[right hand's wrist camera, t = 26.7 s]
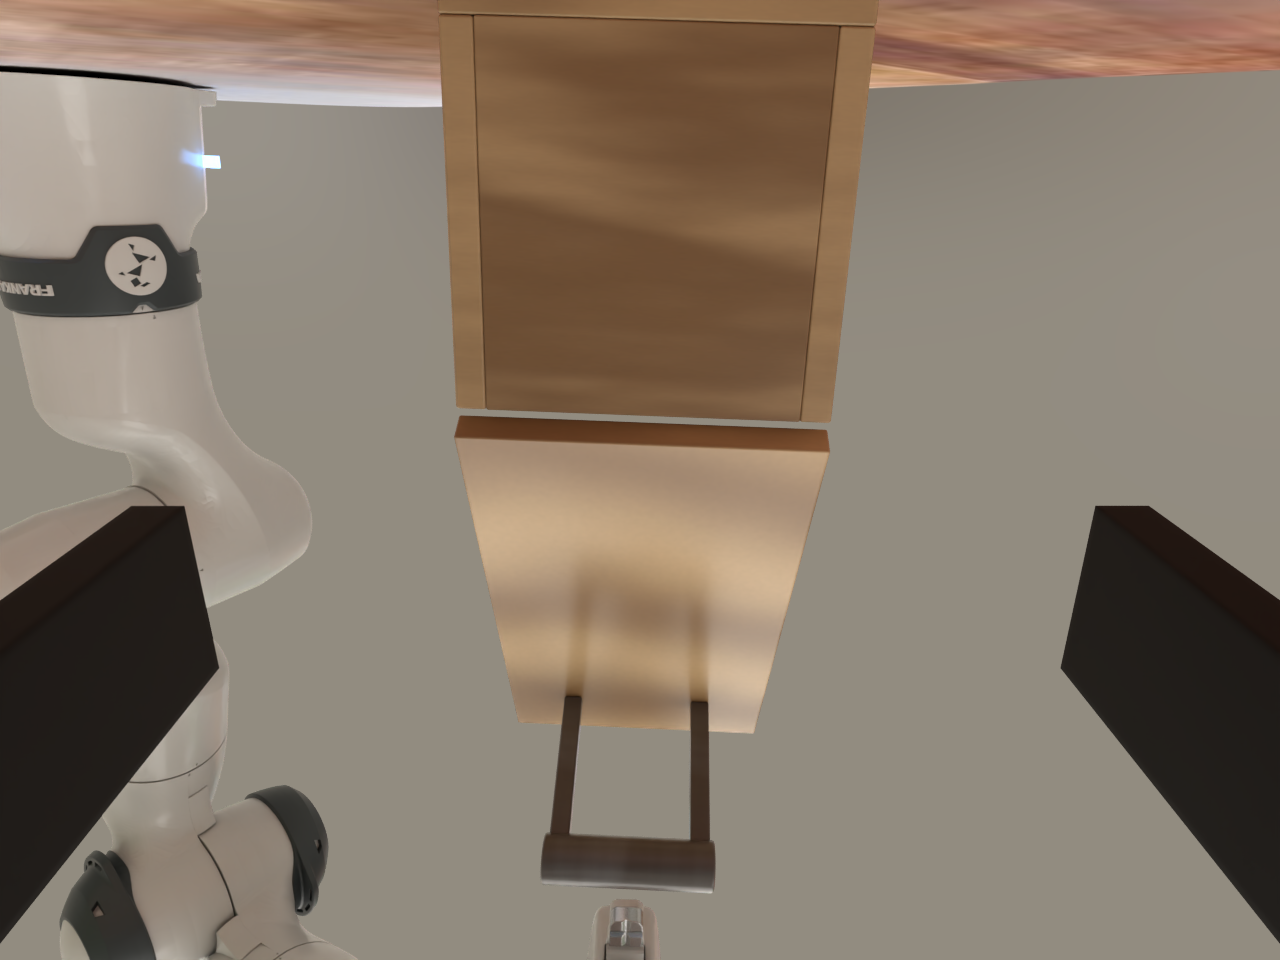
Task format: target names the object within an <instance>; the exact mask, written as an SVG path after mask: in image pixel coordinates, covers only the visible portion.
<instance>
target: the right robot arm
mask: <svg viewBox="0 0 1280 960" xmlns="http://www.w3.org/2000/svg"><path fill="white" fill-rule="evenodd" d="M218 669H219V664H218V659H217V655H216V650H215V645H214V641H213V636H212V632H211V627H210V622H209V618H208V613H207V608H206V604H205V599H204V594H203V590H202V585H201V580H200V576H199V571H198V566H197V562H196V557H195V552H194V548H193V543H192V539H191V534H190V529H189V525H188V520H187V515H186V511H185V506H130V507H129V508H128V509H126V510H125V511H124V512H122V513H121V514H119V515H118V516H117V517H115V518H114V519H112V520H111V521H110V522H108V523H107V524H105V525H104V526H103V527H101V528H100V529H99V530H97V531H96V532H94V533H93V534H92V535H90V536H89V537H87V538H86V539H85V540H83V541H82V542H80V543H79V544H78V545H76V546H75V547H74V548H72V549H71V550H69V551H68V552H67V553H65V554H64V555H62V556H61V557H60V558H58V559H57V560H55V561H54V562H53V563H51V564H50V565H49V566H47V567H46V568H44V569H43V570H42V571H40V572H39V573H37V574H36V575H35V576H33V577H32V578H30V579H29V580H28V581H26V582H25V583H24V584H22V585H21V586H19V587H18V588H17V589H15V590H14V591H12V592H11V593H10V594H8V595H7V596H5V597H4V598H3V599H1V600H0V943H1V942H2V940H3V939H4V938H5V937H6V935H7V934H8V933H9V932H10V930H11V929H12V928H13V927H14V925H15V924H16V923H17V922H18V920H19V919H20V918H21V917H22V915H23V914H24V913H25V912H26V910H27V909H28V908H29V907H30V905H31V904H32V903H33V902H34V900H35V899H36V898H37V897H38V895H39V894H40V893H41V892H42V890H43V889H44V888H45V886H46V885H47V884H48V883H49V881H50V880H51V879H52V878H53V876H54V875H55V874H56V873H57V871H58V870H59V869H60V868H61V866H62V865H63V864H64V863H65V861H66V860H67V859H68V858H69V856H70V855H71V854H72V853H73V851H74V850H75V849H76V848H77V846H78V845H79V844H80V842H81V841H82V840H83V839H84V837H85V836H86V835H87V834H88V832H89V831H90V830H91V829H92V827H93V826H94V825H95V824H96V822H97V821H98V820H99V819H100V817H101V816H102V815H103V814H104V812H105V811H106V810H107V809H108V807H109V806H110V805H111V804H112V802H113V801H114V800H115V799H116V797H117V796H118V795H119V794H120V792H121V791H122V790H123V789H124V787H125V786H126V785H127V783H128V782H129V781H130V780H131V778H132V777H133V776H134V775H135V773H136V772H137V771H138V770H139V768H140V767H141V766H142V765H143V763H144V762H145V761H146V760H147V758H148V757H149V756H150V755H151V753H152V752H153V751H154V750H155V748H156V747H157V746H158V745H159V743H160V742H161V741H162V740H163V738H164V737H165V736H166V734H167V733H168V732H169V731H170V729H171V728H172V727H173V726H174V724H175V723H176V722H177V721H178V719H179V718H180V717H181V716H182V714H183V713H184V712H185V711H186V709H187V708H188V707H189V706H190V704H191V703H192V702H193V701H194V699H195V698H196V697H197V696H198V694H199V693H200V692H201V691H202V689H203V688H204V687H205V685H206V684H207V683H208V682H209V680H210V679H211V678H212V677H213V675H214V674H215V673H216V672H217V670H218ZM1061 669H1062V670H1063V672H1064V673H1065V674H1066V675H1067V677H1068V678H1069V679H1070V680H1071V682H1072V683H1073V684H1074V685H1075V687H1076V688H1077V689H1078V690H1079V692H1080V693H1081V694H1082V696H1083V697H1084V698H1085V699H1086V701H1087V702H1088V703H1089V704H1090V706H1091V707H1092V708H1093V709H1094V711H1095V712H1096V713H1097V714H1098V716H1099V717H1100V718H1101V719H1102V721H1103V722H1104V723H1105V724H1106V726H1107V727H1108V728H1109V729H1110V731H1111V732H1112V733H1113V734H1114V736H1115V737H1116V738H1117V739H1118V741H1119V742H1120V743H1121V745H1122V746H1123V747H1124V748H1125V749H1126V751H1127V752H1128V753H1129V754H1130V756H1131V757H1132V758H1133V760H1134V761H1135V762H1136V763H1137V765H1138V766H1139V767H1140V768H1141V770H1142V771H1143V772H1144V773H1145V775H1146V776H1147V777H1148V778H1149V780H1150V781H1151V782H1152V783H1153V785H1154V786H1155V787H1156V789H1157V790H1158V791H1159V792H1160V794H1161V795H1162V796H1163V797H1164V799H1165V800H1166V801H1167V802H1168V804H1169V805H1170V806H1171V807H1172V809H1173V810H1174V811H1175V812H1176V814H1177V815H1178V816H1179V817H1180V819H1181V820H1182V821H1183V822H1184V824H1185V825H1186V826H1187V827H1188V829H1189V830H1190V831H1191V832H1192V834H1193V835H1194V836H1195V837H1196V839H1197V840H1198V841H1199V842H1200V844H1201V845H1202V846H1203V847H1204V849H1205V850H1206V851H1207V852H1208V854H1209V855H1210V856H1211V858H1212V859H1213V860H1214V861H1215V863H1216V864H1217V865H1218V866H1219V868H1220V869H1221V870H1222V871H1223V873H1224V874H1225V875H1226V876H1227V878H1228V879H1229V880H1230V881H1231V883H1232V884H1233V885H1234V886H1235V888H1236V889H1237V890H1238V892H1239V893H1240V894H1241V895H1242V897H1243V898H1244V899H1245V900H1246V902H1247V903H1248V904H1249V905H1250V907H1251V908H1252V909H1253V910H1254V912H1255V913H1256V914H1257V915H1258V917H1259V918H1260V919H1261V920H1262V922H1263V923H1264V924H1265V925H1266V927H1267V928H1268V929H1269V930H1270V932H1271V933H1272V934H1273V935H1274V937H1275V938H1276V939H1277V940H1278V942H1279V943H1280V600H1279V599H1277V598H1276V597H1275V596H1273V595H1272V594H1270V593H1269V592H1268V591H1266V590H1265V589H1263V588H1262V587H1261V586H1259V585H1258V584H1256V583H1255V582H1254V581H1252V580H1251V579H1250V578H1248V577H1247V576H1245V575H1244V574H1243V573H1241V572H1240V571H1238V570H1237V569H1236V568H1234V567H1233V566H1231V565H1230V564H1229V563H1227V562H1226V561H1225V560H1223V559H1222V558H1220V557H1219V556H1218V555H1216V554H1215V553H1213V552H1212V551H1211V550H1209V549H1208V548H1206V547H1205V546H1204V545H1202V544H1201V543H1199V542H1198V541H1197V540H1195V539H1194V538H1193V537H1191V536H1190V535H1188V534H1187V533H1186V532H1184V531H1183V530H1181V529H1180V528H1179V527H1177V526H1176V525H1175V524H1173V523H1172V522H1170V521H1169V520H1168V519H1166V518H1165V517H1163V516H1162V515H1161V514H1159V513H1158V512H1156V511H1155V510H1154V509H1152V508H1151V507H1150V506H1095V511H1094V515H1093V520H1092V525H1091V529H1090V534H1089V539H1088V543H1087V548H1086V553H1085V557H1084V562H1083V566H1082V571H1081V576H1080V580H1079V585H1078V590H1077V594H1076V599H1075V604H1074V608H1073V613H1072V618H1071V622H1070V627H1069V631H1068V636H1067V641H1066V645H1065V650H1064V655H1063V659H1062V664H1061Z"/></svg>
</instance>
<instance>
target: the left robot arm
mask: <svg viewBox="0 0 1280 960" xmlns="http://www.w3.org/2000/svg"><path fill="white" fill-rule="evenodd" d="M201 106H203V107H215V106H216V92H213V91H205V90H197V89H193V88H189V87H183V86H175V85H167V84H157V83H147V82H136V81H125V80H113V79H101V78H88V77H75V76H61V75H46V74H30V73H13V72H0V295H1V298H2V301H3V304H4V306H5V307H6V308H8V309H9V310H11V311H12V312H13V316H14V321H15V325H16V329H17V334H18V338H19V343H20V347H21V352H22V356H23V361H24V365H25V370H26V374H27V378H28V383H29V387H30V391H31V396H32V401H33V405H34V407H35V409H36V410H37V412H38V413H39V415H40V416H41V418H42V419H43V420H44V421H45V422H46V423H47V425H49V426H50V427H51V428H52V429H53V430H54V431H56V432H57V433H59V434H60V435H62V436H64V437H66V438H68V439H70V440H73V441H76V442H79V443H82V444H86V445H89V446H93V447H97V448H102V449H106V450H112V451H116V452H122V453H125V455H126V456H127V458H128V460H129V463H130V466H131V469H132V475H133V482H132V485H130V486H128V487H126V488H124V489H120V490H117V491H114V492H110V493H107V494H103V495H100V496H96V497H93V498H89V499H86V500H82V501H79V502H76V503H72V504H69V505H65V506H62V507H58V508H55V509H51V510H48V511H44V512H41V513H38V514H35V515H33V516H31V517H28V518H26V519H24V520H22V521H20V522H18V523H16V524H14V525H12V526H10V527H7V528H5V529H3V530H1V531H0V600H1V599H3V598H4V597H5V596H7V595H8V594H10V593H11V592H12V591H14V590H15V589H17V588H18V587H19V586H21V585H22V584H24V583H25V582H26V581H28V580H29V579H30V578H32V577H33V576H35V575H36V574H37V573H39V572H40V571H42V570H43V569H44V568H46V567H47V566H49V565H50V564H51V563H53V562H54V561H55V560H57V559H58V558H60V557H61V556H62V555H64V554H65V553H67V552H68V551H69V550H71V549H72V548H74V547H75V546H76V545H78V544H79V543H80V542H82V541H83V540H85V539H86V538H87V537H89V536H90V535H92V534H93V533H94V532H96V531H97V530H99V529H100V528H101V527H103V526H104V525H105V524H107V523H108V522H110V521H111V520H112V519H114V518H115V517H117V516H118V515H119V514H121V513H122V512H124V511H125V510H126V509H128V508H129V507H130V506H185V511H186V515H187V520H188V525H189V529H190V534H191V539H192V543H193V548H194V552H195V557H196V562H197V566H198V571H199V576H200V580H201V585H202V590H203V594H204V599H205V604H206V608H208V607H210V606H212V605H215V604H217V603H219V602H222V601H224V600H226V599H229V598H231V597H233V596H236V595H238V594H240V593H243V592H245V591H247V590H250V589H252V588H254V587H257V586H259V585H261V584H262V583H264V582H265V581H266V580H268V579H270V578H271V577H272V576H274V575H275V574H277V573H278V572H280V571H281V570H283V569H284V568H285V567H287V566H288V565H289V564H291V563H292V562H293V561H295V560H296V559H298V558H299V557H300V556H301V555H302V554H303V553H304V552H305V551H306V549H307V547H308V544H309V541H310V537H311V531H312V515H311V509H310V505H309V502H308V499H307V497H306V494H305V492H304V491H303V489H302V487H301V486H300V484H299V483H298V482H297V480H296V479H295V478H294V477H293V476H292V475H291V474H290V473H288V472H287V471H286V470H285V469H284V468H282V467H281V466H279V465H278V464H276V463H274V462H272V461H270V460H268V459H265V458H263V457H261V456H260V455H258V454H256V453H255V452H253V451H252V450H251V449H249V448H248V447H247V446H246V445H245V444H244V443H243V442H242V441H241V440H240V439H239V438H238V436H237V435H236V434H235V433H234V431H233V430H232V428H231V427H230V426H229V424H228V422H227V421H226V419H225V417H224V415H223V413H222V411H221V409H220V407H219V405H218V402H217V399H216V396H215V393H214V390H213V386H212V382H211V378H210V373H209V369H208V364H207V359H206V354H205V349H204V344H203V338H202V333H201V327H200V321H199V315H198V308H197V301H198V300H199V299H200V298H201V297H202V291H201V281H202V276H201V270H199V266H198V258H197V252H196V250H194V249H193V248H192V247H190V240H191V237H192V233H193V230H194V228H195V226H196V224H197V223H198V221H199V220H200V219H201V218H202V217H203V215H204V214H205V213H206V211H207V190H206V173H205V167H206V168H221V166H220V159H219V156H204V141H203V126H202V111H201ZM213 641H214V645H215V650H216V655H217V659H218V664H219V669H218V670H217V672H216V673H215V674H214V675H213V677H212V678H211V679H210V680H209V682H208V683H207V684H206V685H205V687H204V688H203V689H202V691H201V692H200V693H199V694H198V696H197V697H196V698H195V699H194V701H193V702H192V703H191V704H190V706H189V707H188V708H187V709H186V711H185V712H184V713H183V714H182V716H181V717H180V718H179V719H178V721H177V722H176V723H175V724H174V726H173V727H172V728H171V729H170V731H169V732H168V733H167V734H166V736H165V737H164V738H163V740H162V741H161V742H160V743H159V745H158V746H157V747H156V748H155V750H154V751H153V752H152V753H151V755H150V756H149V757H148V758H147V760H146V761H145V762H144V763H143V765H142V766H141V767H140V768H139V770H138V771H137V772H136V773H135V775H134V776H133V777H132V778H131V780H130V781H129V782H128V783H127V785H126V786H125V787H124V789H123V790H122V791H121V792H120V794H119V795H118V796H117V797H116V799H115V800H114V801H113V802H112V804H111V805H110V806H109V807H108V809H107V810H106V811H105V812H104V814H103V815H102V817H103V819H104V821H105V823H106V824H107V826H108V828H109V830H110V832H111V834H112V840H113V843H112V848H111V850H110V851H108V852H107V854H106V855H104V854H103V853H102V852H100V851H93V852H92V853H91V854H90V855H89V856H88V857H87V858H86V860H85V863H84V874H83V875H82V876H81V877H80V879H79V880H78V881H77V883H76V884H75V885H74V887H73V888H72V889H71V892H70V894H69V896H68V898H67V901H66V903H65V906H64V909H63V911H62V915H61V918H60V931H61V933H60V951H61V957H62V960H358V959H357V958H356V957H354V956H353V955H351V954H349V953H348V952H346V951H344V950H342V949H340V948H339V947H337V946H335V945H333V944H331V943H329V942H327V941H325V940H323V939H321V938H319V937H317V936H314V935H313V934H311V933H310V932H308V931H307V930H306V929H305V928H304V927H303V926H302V925H301V923H300V922H299V920H298V917H297V915H301V916H305V915H308V914H309V913H310V912H311V911H312V910H313V908H314V907H315V906H316V904H317V900H318V893H319V890H318V886H319V885H320V883H321V881H322V879H323V876H324V873H325V869H326V863H327V857H328V839H327V834H326V830H325V827H324V825H323V822H322V820H321V818H320V816H319V814H318V812H317V810H316V808H315V807H314V805H313V804H312V803H311V801H310V800H309V799H308V798H307V797H306V796H305V795H304V794H303V793H301V792H300V791H297V790H295V789H293V788H291V787H289V786H286V785H282V786H275V787H271V788H267V789H264V790H260V791H257V792H254V793H252V794H249V795H248V796H247V797H246V798H245V800H243V801H240V802H238V803H235V804H232V805H230V806H227V807H225V808H222V809H220V810H217V811H215V812H213V810H212V806H211V802H212V800H213V797H214V795H215V792H216V789H217V786H218V782H219V778H220V775H221V771H222V766H223V762H224V756H225V749H226V741H227V724H228V696H229V664H228V661H227V659H226V656H225V654H224V652H223V650H222V649H221V647H220V646H219V645H218V643H217V642H216V641H215V640H214V639H213ZM296 914H297V915H296ZM587 960H661V957H660V945H659V934H658V926H657V920H656V916H655V913H654V912H653V910H652V909H651V908H649V907H646V906H643V904H642V902H640V901H639V900H635V899H616V900H614V901H612V903H611V904H610V905H607V906H602V907H600V908H599V909H598V910H597V912H596V914H595V916H594V920H593V924H592V929H591V935H590V942H589V948H588V955H587Z"/></svg>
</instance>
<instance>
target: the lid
mask: <svg viewBox="0 0 1280 960" xmlns="http://www.w3.org/2000/svg"><path fill="white" fill-rule="evenodd" d="M454 438H455V443H456V447H457V451H458V456H459V460H460V465H461V469H462V474H463V478H464V482H465V487H466V491H467V496H468V500H469V505H470V509H471V513H472V518H473V522H474V527H475V531H476V535H477V540H478V544H479V549H480V553H481V558H482V562H483V566H484V571H485V575H486V580H487V584H488V589H489V593H490V598H491V602H492V606H493V611H494V615H495V620H496V624H497V628H498V633H499V637H500V642H501V646H502V651H503V655H504V660H505V664H506V668H507V673H508V677H509V682H510V686H511V691H512V695H513V699H514V704H515V708H516V713H517V717H518V721H519V722H520V723H541V724H562V726H561V735H560V744H559V753H558V763H557V772H556V781H555V790H554V800H553V809H552V818H551V827H550V832H547V833H546V834H545V837H544V841H543V847H542V856H541V883H542V884H543V885H556V886H576V887H596V888H616V889H636V890H656V891H676V892H696V893H713V891H714V886H715V844H714V841H712V840H710V808H709V731H714V732H735V733H754V731H755V728H756V724H757V720H758V716H759V713H760V709H761V705H762V702H763V698H764V694H765V691H766V687H767V683H768V679H769V676H770V672H771V668H772V665H773V661H774V657H775V653H776V650H777V646H778V642H779V639H780V635H781V631H782V628H783V624H784V620H785V617H786V613H787V609H788V605H789V602H790V598H791V594H792V590H793V587H794V583H795V579H796V576H797V572H798V568H799V565H800V561H801V557H802V554H803V550H804V546H805V543H806V539H807V535H808V531H809V528H810V524H811V520H812V517H813V513H814V509H815V506H816V502H817V498H818V494H819V491H820V487H821V483H822V480H823V476H824V472H825V468H826V465H827V461H828V457H829V454H830V448H829V441H828V433H827V430H816V429H791V428H765V427H740V426H715V425H689V424H663V423H638V422H613V421H587V420H562V419H537V418H511V417H485V416H460V417H459V420H458V424H457V428H456V432H455V436H454ZM581 725H584V726H606V727H627V728H649V729H670V730H690V795H689V839H675V838H655V837H634V836H614V835H593V834H573V833H571V825H572V814H573V803H574V792H575V782H576V771H577V760H578V750H579V739H580V728H581Z"/></svg>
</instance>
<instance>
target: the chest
mask: <svg viewBox="0 0 1280 960" xmlns="http://www.w3.org/2000/svg"><path fill="white" fill-rule="evenodd" d="M437 3H438V12H439V13H440V15H439V17H438V22H439V44H440V66H441V87H442V109H443V130H444V152H445V174H446V195H447V217H448V239H449V260H450V282H451V303H452V325H453V347H454V368H455V390H456V406H457V407H458V408H470V409H485V408H487V409H488V410H512V411H538V412H563V413H589V414H614V415H640V416H665V417H691V418H716V419H742V420H767V421H792V422H798V421H802V422H821V423H829V422H830V421H831V414H832V406H833V397H834V388H835V379H836V371H837V362H838V353H839V345H840V336H841V327H842V318H843V310H844V301H845V292H846V283H847V275H848V266H849V257H850V249H851V240H852V231H853V222H854V214H855V205H856V196H857V187H858V179H859V170H860V161H861V152H862V144H863V135H864V126H865V118H866V109H867V100H868V91H869V83H870V74H871V65H872V56H873V48H874V39H875V28H874V26H875V25H876V21H877V12H878V3H879V0H437Z"/></svg>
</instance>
